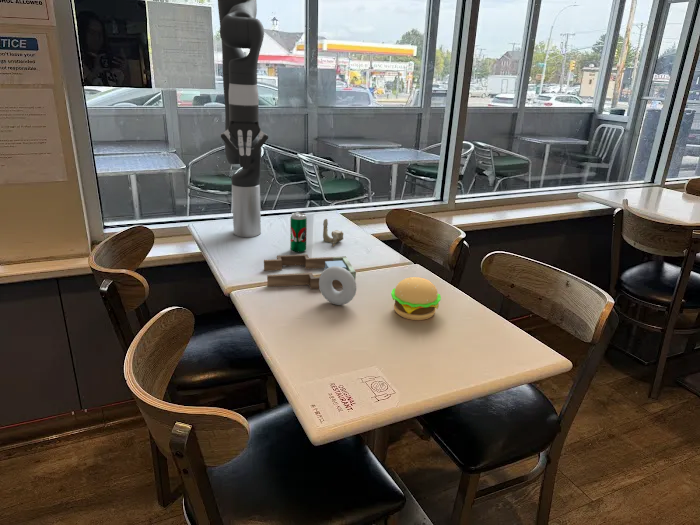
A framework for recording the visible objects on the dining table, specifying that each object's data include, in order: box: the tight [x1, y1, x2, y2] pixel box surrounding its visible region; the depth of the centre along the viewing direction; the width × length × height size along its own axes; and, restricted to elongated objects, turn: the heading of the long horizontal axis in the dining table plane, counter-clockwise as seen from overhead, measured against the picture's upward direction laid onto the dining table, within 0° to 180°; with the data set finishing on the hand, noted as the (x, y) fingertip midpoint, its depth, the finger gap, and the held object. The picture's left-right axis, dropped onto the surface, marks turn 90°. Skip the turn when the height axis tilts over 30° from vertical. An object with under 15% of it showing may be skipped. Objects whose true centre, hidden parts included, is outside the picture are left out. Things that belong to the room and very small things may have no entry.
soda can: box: [289, 212, 308, 254], centre depth 155 cm, size 5×5×12 cm
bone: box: [322, 218, 344, 247], centre depth 164 cm, size 9×6×10 cm
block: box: [324, 261, 346, 270], centre depth 140 cm, size 5×5×4 cm
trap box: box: [263, 254, 357, 290], centre depth 139 cm, size 18×24×3 cm
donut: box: [319, 266, 357, 306], centre depth 122 cm, size 10×4×10 cm, turn 65°
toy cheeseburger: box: [390, 276, 442, 321], centre depth 120 cm, size 12×12×9 cm
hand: (245, 168), depth 135 cm, fingers closed
